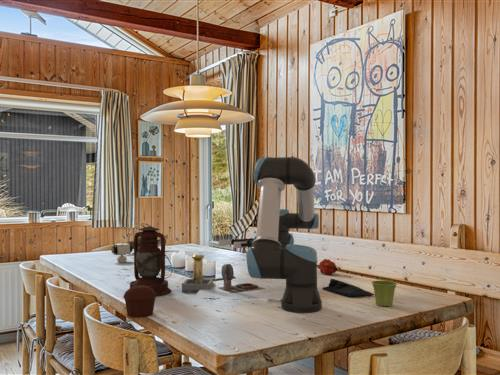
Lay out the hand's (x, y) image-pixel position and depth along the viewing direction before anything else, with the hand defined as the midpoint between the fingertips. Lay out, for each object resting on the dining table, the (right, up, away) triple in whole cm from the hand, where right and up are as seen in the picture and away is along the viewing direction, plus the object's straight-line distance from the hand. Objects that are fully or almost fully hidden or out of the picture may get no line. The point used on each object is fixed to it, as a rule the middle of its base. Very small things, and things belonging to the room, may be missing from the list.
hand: (226, 244), depth 222 cm
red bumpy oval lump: (+51, -20, +32) cm, 64 cm away
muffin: (-28, -20, -48) cm, 59 cm away
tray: (-12, -19, -6) cm, 24 cm away
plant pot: (+62, -20, -34) cm, 74 cm away
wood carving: (-61, -20, +119) cm, 135 cm away
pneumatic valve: (-67, -20, +74) cm, 102 cm away
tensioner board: (+7, -19, -10) cm, 23 cm away
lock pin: (-12, -18, -6) cm, 23 cm away
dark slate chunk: (+53, -20, -11) cm, 58 cm away
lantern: (-33, -20, -12) cm, 40 cm away
